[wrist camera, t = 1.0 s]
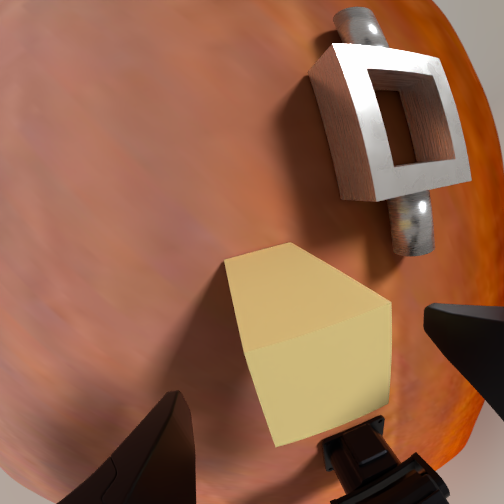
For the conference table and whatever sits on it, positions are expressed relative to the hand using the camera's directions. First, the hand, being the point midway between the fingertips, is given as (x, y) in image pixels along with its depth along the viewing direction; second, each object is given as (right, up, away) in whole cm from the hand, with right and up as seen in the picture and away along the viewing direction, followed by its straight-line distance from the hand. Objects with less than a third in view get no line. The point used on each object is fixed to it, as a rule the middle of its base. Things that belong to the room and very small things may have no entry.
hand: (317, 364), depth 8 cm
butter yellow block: (-1, +2, +8) cm, 9 cm away
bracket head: (+6, +12, +7) cm, 15 cm away
